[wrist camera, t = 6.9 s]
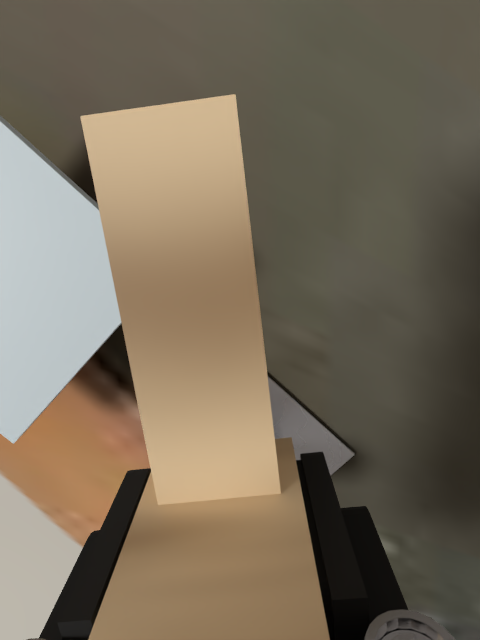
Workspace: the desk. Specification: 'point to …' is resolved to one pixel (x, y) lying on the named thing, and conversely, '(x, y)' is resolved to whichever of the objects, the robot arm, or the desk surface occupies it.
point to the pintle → (305, 429)
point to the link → (198, 390)
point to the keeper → (46, 282)
